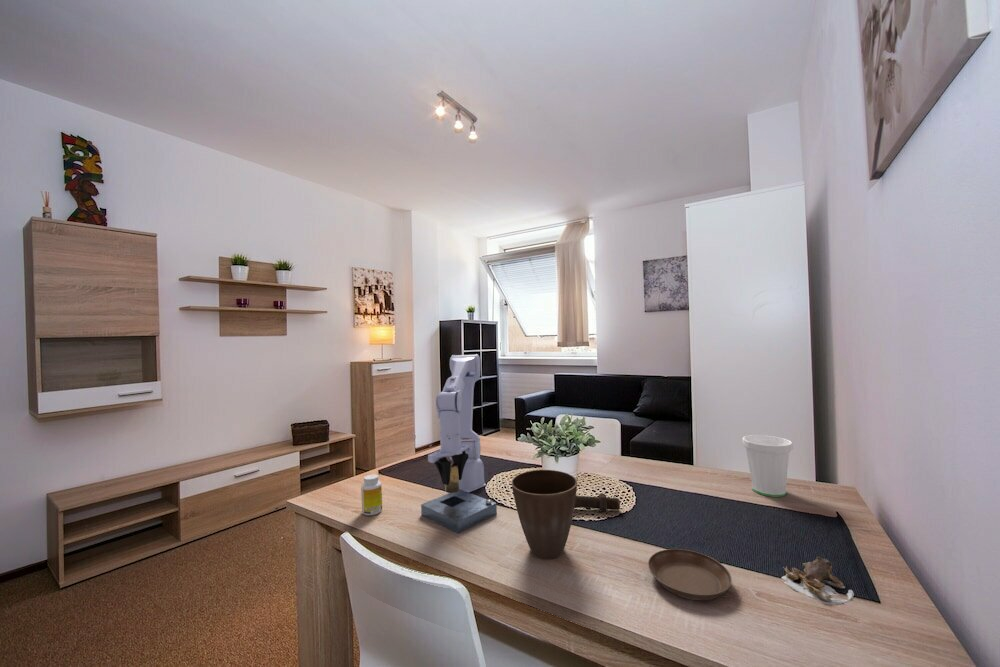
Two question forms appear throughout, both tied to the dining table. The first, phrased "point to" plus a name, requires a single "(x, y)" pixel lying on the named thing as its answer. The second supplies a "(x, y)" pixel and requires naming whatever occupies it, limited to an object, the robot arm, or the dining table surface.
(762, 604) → the dining table surface
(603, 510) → the bolt
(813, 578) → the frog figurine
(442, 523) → the jig
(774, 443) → the cup
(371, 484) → the supplement bottle
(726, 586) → the saucer
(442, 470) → the robot arm
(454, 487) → the bushing
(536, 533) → the plant pot
